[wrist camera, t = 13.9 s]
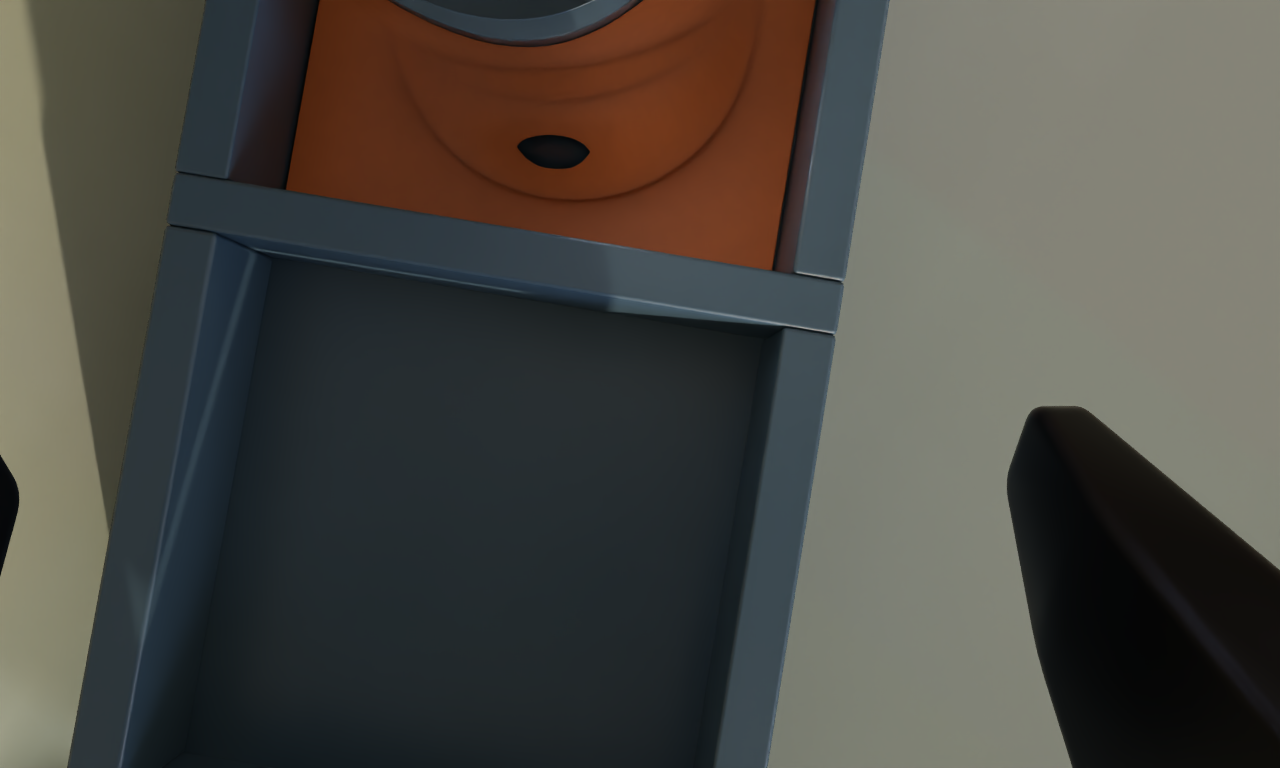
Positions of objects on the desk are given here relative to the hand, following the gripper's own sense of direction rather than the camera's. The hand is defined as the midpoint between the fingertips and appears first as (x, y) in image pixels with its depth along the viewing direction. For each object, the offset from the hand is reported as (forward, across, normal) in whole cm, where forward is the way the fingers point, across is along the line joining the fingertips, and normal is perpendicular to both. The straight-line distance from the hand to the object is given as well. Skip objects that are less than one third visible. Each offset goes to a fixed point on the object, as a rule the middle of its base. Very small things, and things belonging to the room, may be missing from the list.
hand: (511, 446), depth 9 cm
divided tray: (+9, +1, +5) cm, 10 cm away
